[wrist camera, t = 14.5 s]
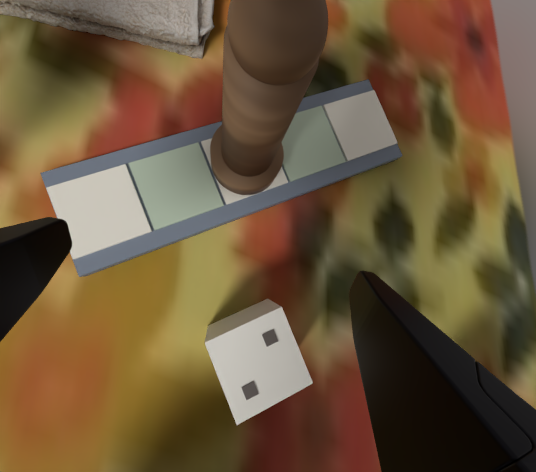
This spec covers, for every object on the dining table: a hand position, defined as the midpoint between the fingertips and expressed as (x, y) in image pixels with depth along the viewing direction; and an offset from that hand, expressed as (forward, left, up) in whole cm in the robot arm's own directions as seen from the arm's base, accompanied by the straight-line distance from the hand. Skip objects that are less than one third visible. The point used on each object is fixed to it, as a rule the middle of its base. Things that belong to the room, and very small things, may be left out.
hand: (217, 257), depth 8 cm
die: (0, -6, -11) cm, 12 cm away
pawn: (+4, +6, -10) cm, 12 cm away
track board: (+4, +6, -11) cm, 13 cm away
